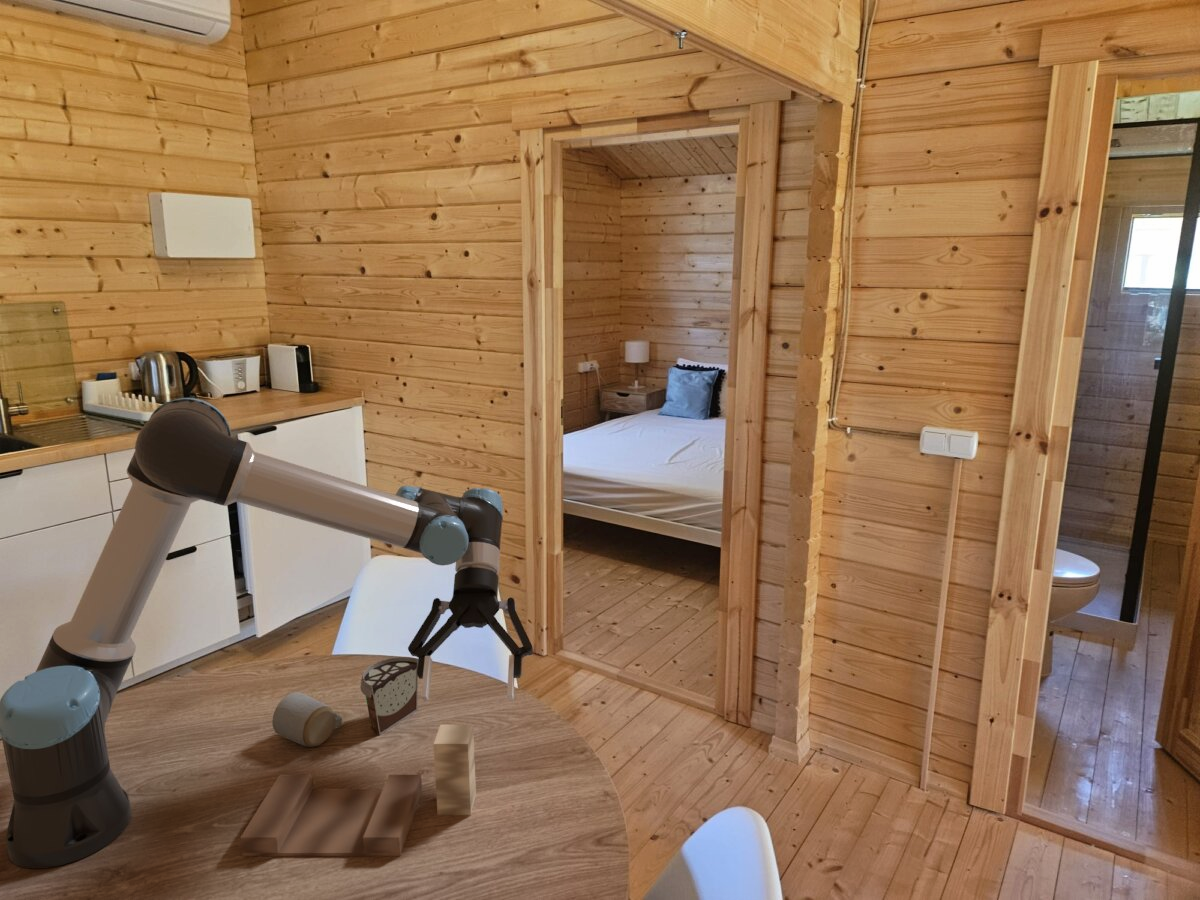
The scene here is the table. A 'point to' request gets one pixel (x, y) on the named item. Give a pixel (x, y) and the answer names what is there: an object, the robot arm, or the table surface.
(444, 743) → the tall wooden block
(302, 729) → the ceramic mug
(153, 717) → the table surface
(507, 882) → the table surface
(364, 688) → the food container
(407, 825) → the cradle
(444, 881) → the table surface
